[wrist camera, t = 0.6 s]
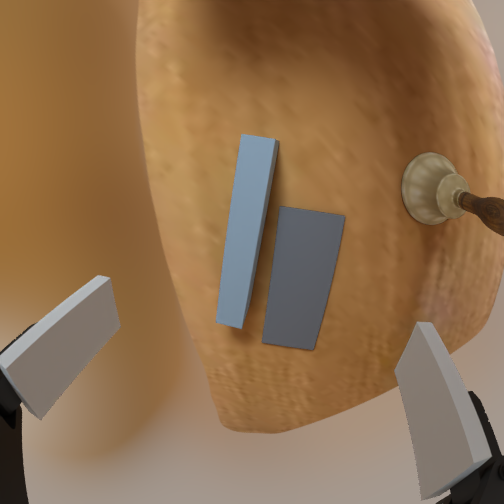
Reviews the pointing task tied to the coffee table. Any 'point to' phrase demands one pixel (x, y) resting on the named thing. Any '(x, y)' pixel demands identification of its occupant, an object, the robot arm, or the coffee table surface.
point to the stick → (245, 227)
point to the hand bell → (445, 194)
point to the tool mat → (301, 276)
